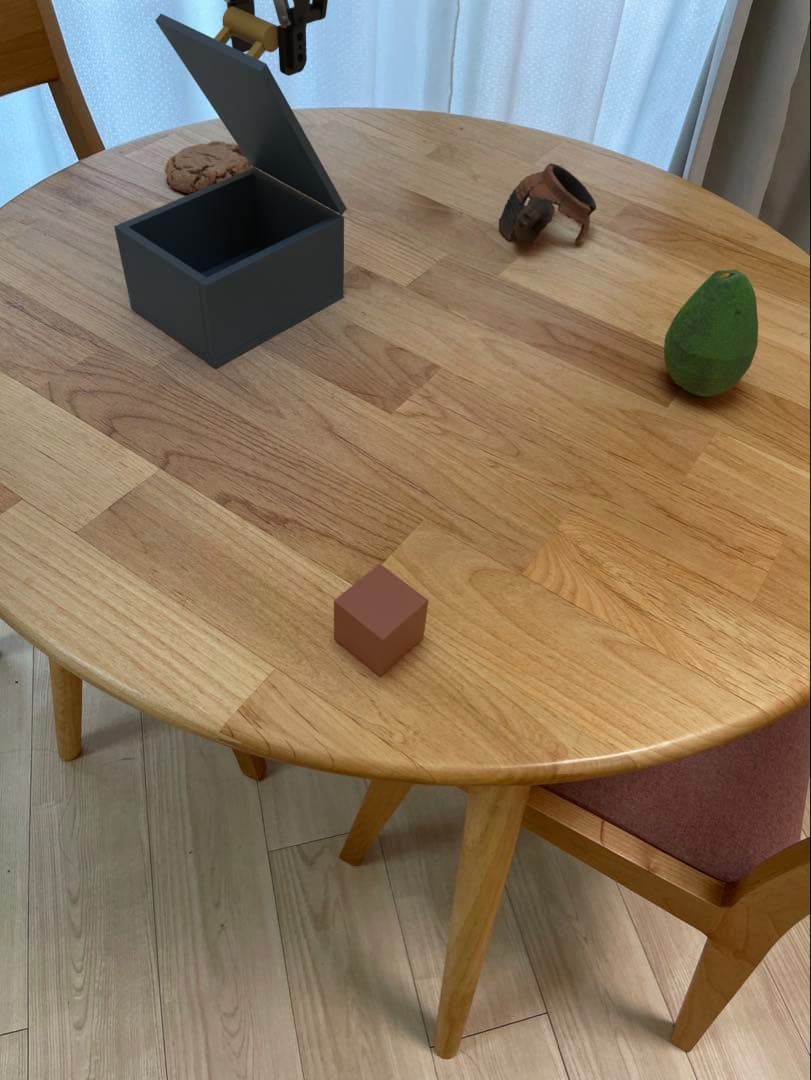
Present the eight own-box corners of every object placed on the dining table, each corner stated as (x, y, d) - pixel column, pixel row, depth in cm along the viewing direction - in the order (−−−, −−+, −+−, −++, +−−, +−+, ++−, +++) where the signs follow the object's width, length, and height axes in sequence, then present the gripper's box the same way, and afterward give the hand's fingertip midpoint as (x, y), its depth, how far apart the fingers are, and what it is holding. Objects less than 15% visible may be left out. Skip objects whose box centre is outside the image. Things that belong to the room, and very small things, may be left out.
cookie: (148, 179, 103) (144, 154, 100) (211, 148, 109) (209, 123, 106) (210, 209, 99) (207, 184, 97) (272, 175, 105) (271, 150, 103)
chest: (215, 369, 81) (205, 285, 75) (131, 309, 86) (113, 226, 80) (343, 297, 90) (344, 216, 83) (259, 246, 95) (254, 166, 88)
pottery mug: (505, 206, 105) (551, 149, 99) (563, 261, 105) (611, 207, 100) (474, 228, 95) (523, 166, 90) (538, 288, 96) (590, 229, 91)
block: (380, 677, 61) (382, 640, 57) (333, 638, 63) (333, 600, 59) (423, 638, 63) (429, 600, 60) (377, 601, 65) (379, 562, 62)
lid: (259, 71, 67) (301, 19, 67) (154, 20, 72) (194, -28, 72) (342, 215, 83) (375, 173, 83) (251, 165, 88) (283, 125, 88)
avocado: (700, 353, 87) (742, 244, 78) (751, 402, 83) (803, 292, 74) (634, 371, 85) (670, 261, 76) (684, 423, 80) (728, 312, 71)
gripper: (146, -209, 63) (179, 45, 76) (283, -166, 57) (294, 102, 70) (227, -220, 67) (245, 24, 79) (364, -180, 61) (359, 76, 74)
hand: (268, 59), depth 75 cm, fingers open, 5 cm apart
